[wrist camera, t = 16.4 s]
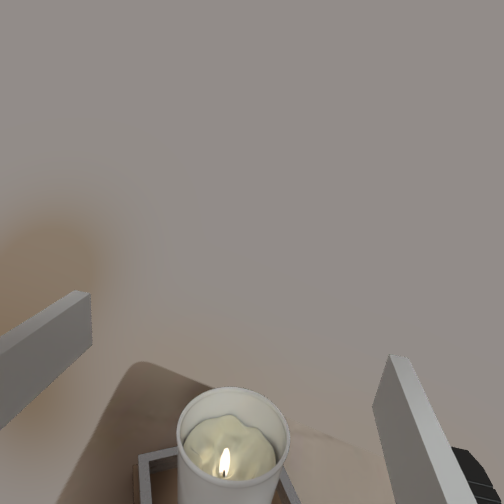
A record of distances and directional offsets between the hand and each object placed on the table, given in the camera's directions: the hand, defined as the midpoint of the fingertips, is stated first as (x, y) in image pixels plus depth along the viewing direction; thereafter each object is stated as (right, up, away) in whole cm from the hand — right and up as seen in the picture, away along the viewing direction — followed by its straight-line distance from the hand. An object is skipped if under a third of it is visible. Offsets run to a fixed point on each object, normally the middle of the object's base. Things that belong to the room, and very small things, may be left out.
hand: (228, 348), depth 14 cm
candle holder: (-2, -22, +18) cm, 29 cm away
